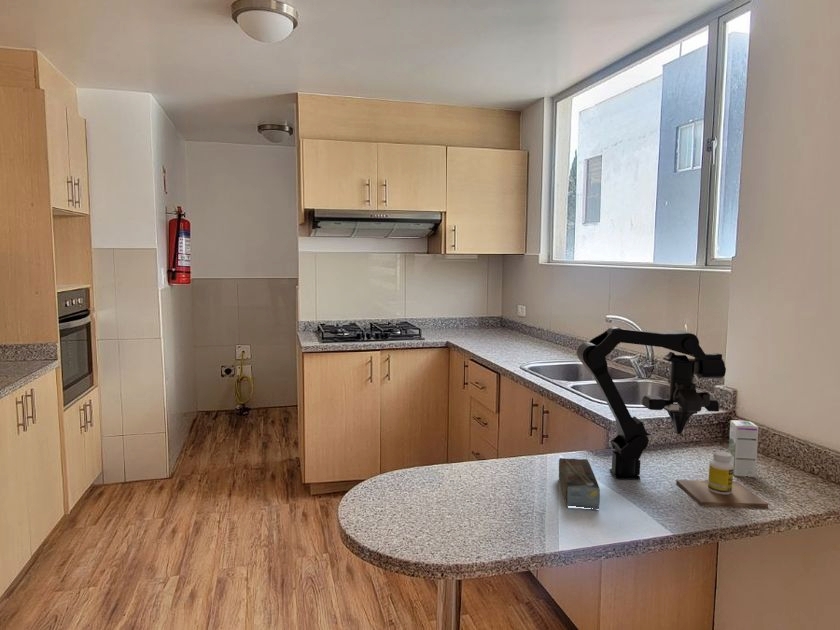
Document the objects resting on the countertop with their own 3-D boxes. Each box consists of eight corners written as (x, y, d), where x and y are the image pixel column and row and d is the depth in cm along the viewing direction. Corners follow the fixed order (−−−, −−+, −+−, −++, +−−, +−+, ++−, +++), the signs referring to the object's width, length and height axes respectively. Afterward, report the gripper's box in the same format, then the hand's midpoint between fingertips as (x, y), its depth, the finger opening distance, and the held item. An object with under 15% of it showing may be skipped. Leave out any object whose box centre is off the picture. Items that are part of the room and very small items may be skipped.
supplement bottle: (731, 497, 140) (733, 458, 139) (706, 492, 143) (709, 454, 142) (732, 489, 144) (735, 452, 143) (708, 485, 147) (711, 448, 146)
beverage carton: (565, 509, 134) (566, 482, 133) (557, 479, 153) (558, 455, 152) (599, 512, 133) (601, 485, 132) (587, 481, 152) (588, 457, 151)
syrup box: (756, 477, 156) (760, 426, 154) (733, 475, 157) (736, 424, 156) (748, 470, 161) (752, 420, 160) (726, 468, 162) (729, 419, 161)
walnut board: (701, 506, 137) (701, 502, 136) (676, 483, 150) (676, 479, 150) (768, 507, 136) (768, 503, 136) (736, 485, 150) (737, 481, 150)
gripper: (659, 383, 145) (655, 442, 146) (732, 385, 145) (728, 444, 146) (642, 374, 156) (639, 430, 158) (710, 376, 156) (707, 431, 157)
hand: (678, 434), depth 154 cm, fingers closed
